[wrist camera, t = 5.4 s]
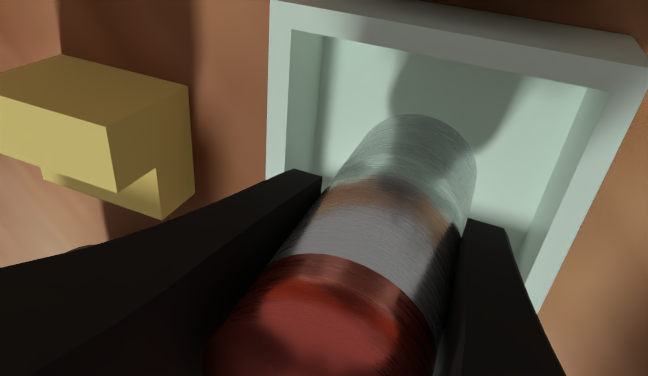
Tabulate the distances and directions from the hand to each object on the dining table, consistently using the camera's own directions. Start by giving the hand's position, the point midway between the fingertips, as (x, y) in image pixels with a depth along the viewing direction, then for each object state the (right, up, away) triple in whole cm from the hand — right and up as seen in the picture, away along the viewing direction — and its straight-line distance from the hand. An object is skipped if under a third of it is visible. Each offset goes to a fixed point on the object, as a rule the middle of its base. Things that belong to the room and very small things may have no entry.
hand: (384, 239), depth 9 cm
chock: (-8, +3, +7) cm, 11 cm away
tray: (+2, +2, +4) cm, 4 cm away
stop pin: (+1, +1, +2) cm, 3 cm away
